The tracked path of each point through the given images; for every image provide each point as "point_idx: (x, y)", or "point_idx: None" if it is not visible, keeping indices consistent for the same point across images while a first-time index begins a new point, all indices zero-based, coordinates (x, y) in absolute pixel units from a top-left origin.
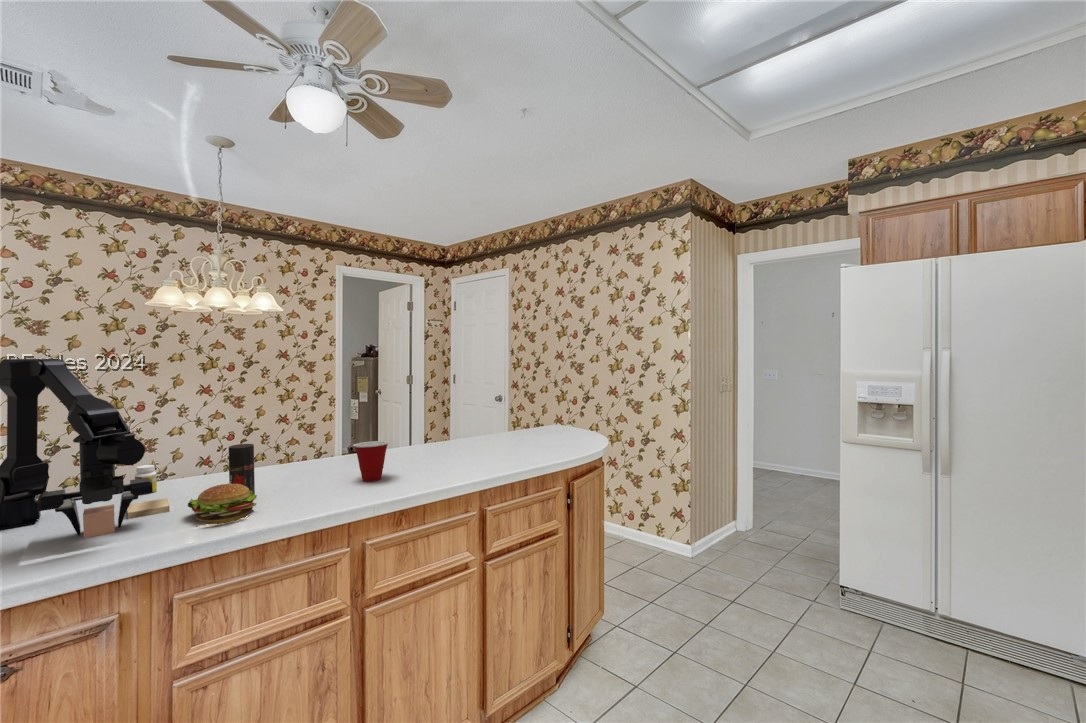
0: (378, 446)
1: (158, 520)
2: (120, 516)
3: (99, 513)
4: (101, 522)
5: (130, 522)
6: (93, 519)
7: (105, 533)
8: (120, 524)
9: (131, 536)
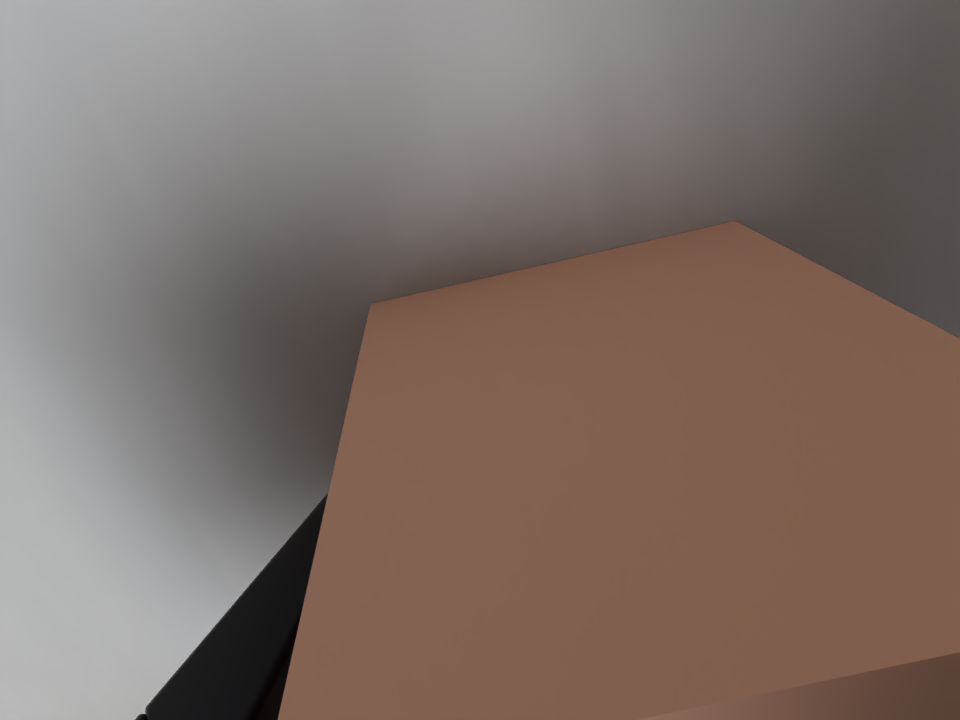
0: None
1: (30, 670)
2: (269, 634)
3: (746, 632)
4: (586, 416)
5: None
6: (814, 454)
7: (485, 308)
8: (320, 513)
9: (41, 111)
